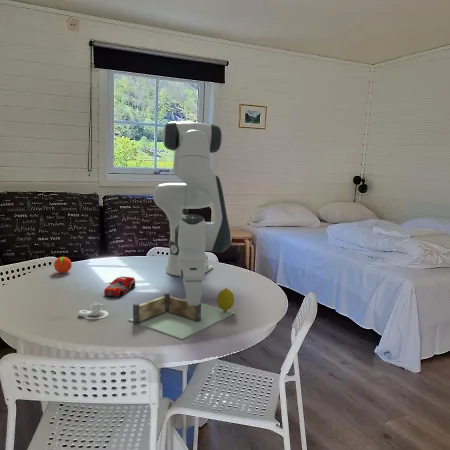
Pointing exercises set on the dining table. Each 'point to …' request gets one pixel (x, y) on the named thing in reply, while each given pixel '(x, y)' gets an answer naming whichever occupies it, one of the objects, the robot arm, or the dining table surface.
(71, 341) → the dining table surface
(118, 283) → the race car
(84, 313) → the teacup and saucer
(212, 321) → the mat
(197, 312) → the fence panel
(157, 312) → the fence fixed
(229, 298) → the lemon
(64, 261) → the clementine
